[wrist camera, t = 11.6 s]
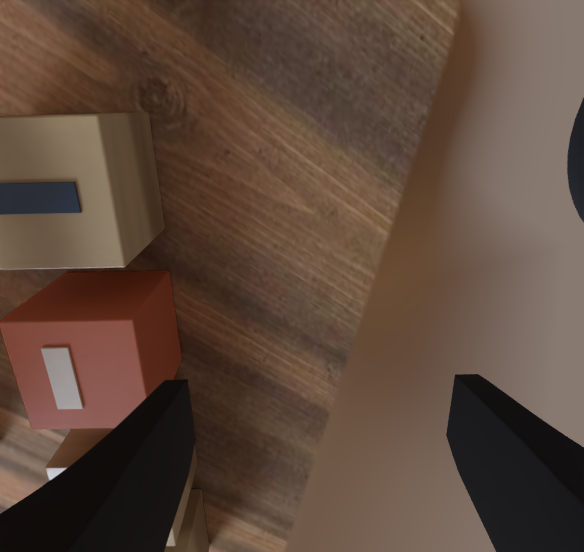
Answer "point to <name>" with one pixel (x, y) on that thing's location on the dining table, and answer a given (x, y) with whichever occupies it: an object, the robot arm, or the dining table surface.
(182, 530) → the beech block
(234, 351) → the dining table surface
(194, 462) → the beech block
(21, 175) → the beech block
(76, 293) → the terracotta block
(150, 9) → the dining table surface
